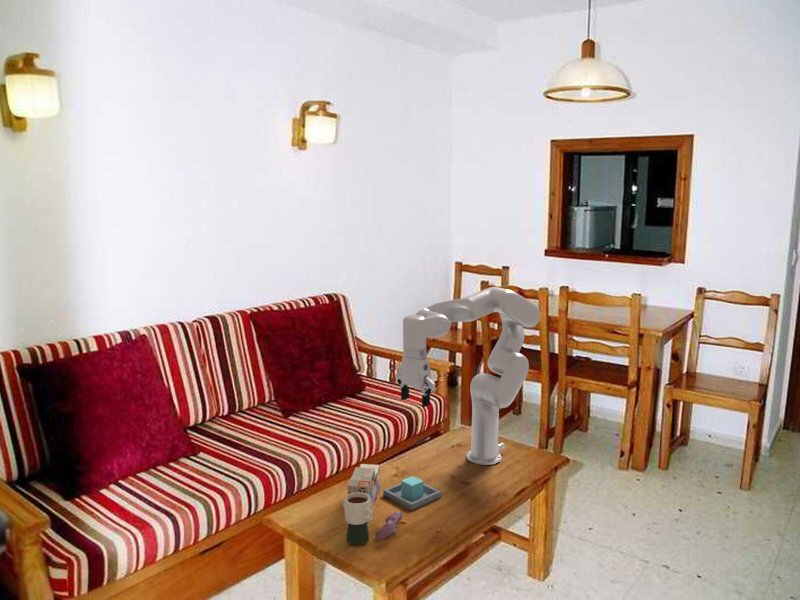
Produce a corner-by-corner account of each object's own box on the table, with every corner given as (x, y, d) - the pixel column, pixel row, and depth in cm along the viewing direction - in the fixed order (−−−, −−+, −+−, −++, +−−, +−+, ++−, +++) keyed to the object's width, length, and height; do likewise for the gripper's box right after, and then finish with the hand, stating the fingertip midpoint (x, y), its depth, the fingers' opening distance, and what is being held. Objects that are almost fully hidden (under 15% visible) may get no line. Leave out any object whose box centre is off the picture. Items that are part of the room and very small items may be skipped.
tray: (412, 483, 217) (412, 477, 217) (441, 497, 208) (441, 491, 207) (383, 495, 208) (383, 489, 208) (411, 510, 199) (411, 504, 199)
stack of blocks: (361, 490, 212) (361, 454, 210) (380, 491, 212) (380, 455, 209) (347, 523, 191) (347, 484, 189) (368, 525, 191) (368, 485, 189)
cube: (412, 490, 211) (412, 475, 211) (423, 495, 208) (423, 481, 207) (401, 495, 208) (401, 480, 207) (412, 500, 204) (412, 485, 204)
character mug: (380, 543, 181) (380, 499, 179) (362, 553, 176) (362, 509, 173) (352, 529, 188) (352, 487, 186) (334, 539, 183) (334, 496, 180)
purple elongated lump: (386, 546, 182) (397, 528, 180) (373, 537, 183) (383, 518, 181) (398, 529, 191) (408, 511, 189) (385, 520, 192) (395, 502, 190)
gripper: (442, 355, 211) (442, 405, 214) (404, 346, 223) (405, 393, 226) (426, 360, 206) (426, 411, 209) (388, 350, 218) (389, 399, 221)
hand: (415, 402), depth 217 cm, fingers open, 9 cm apart
